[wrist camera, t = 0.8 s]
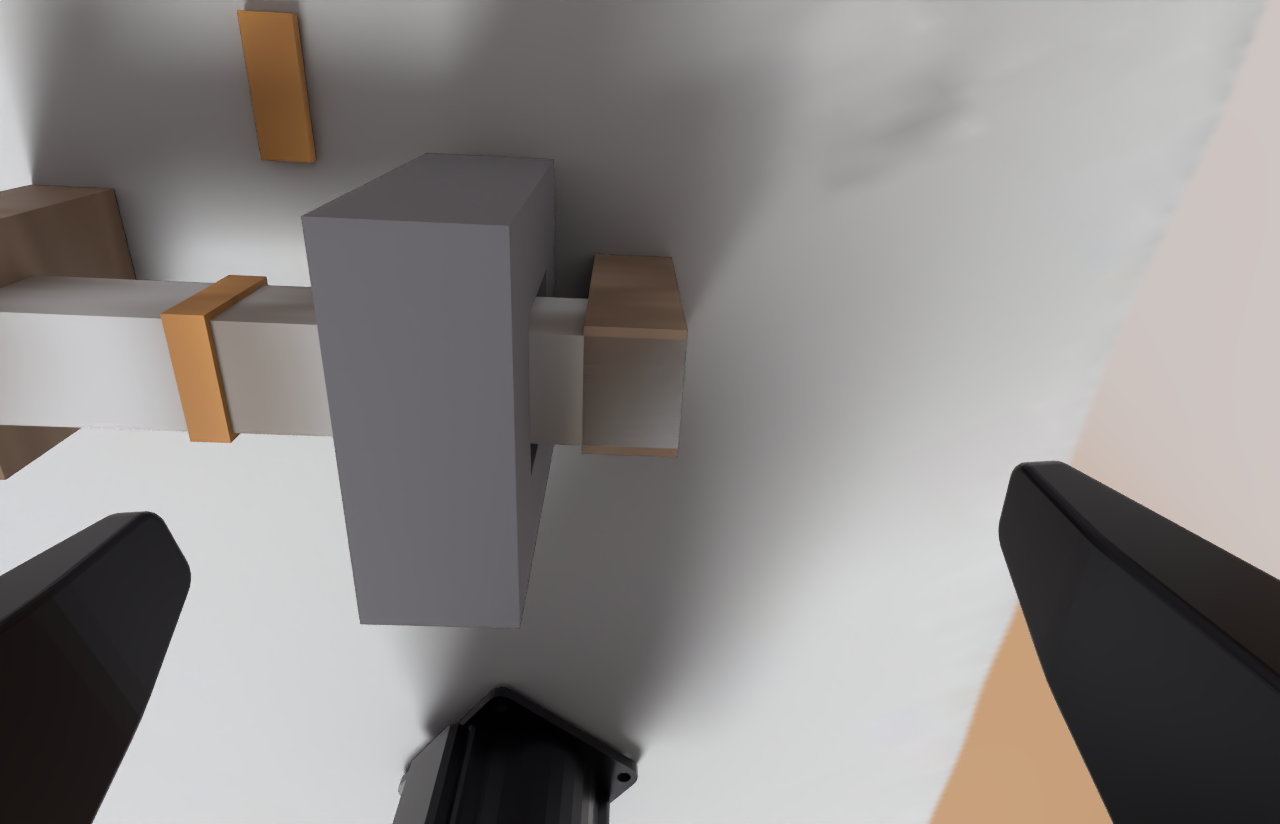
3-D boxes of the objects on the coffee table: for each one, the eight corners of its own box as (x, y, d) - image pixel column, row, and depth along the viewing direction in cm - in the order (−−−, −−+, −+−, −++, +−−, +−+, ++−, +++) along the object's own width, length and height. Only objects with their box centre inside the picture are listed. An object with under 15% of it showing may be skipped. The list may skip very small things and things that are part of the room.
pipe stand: (686, 35, 17) (712, 28, 12) (662, 393, 21) (674, 505, 16) (-25, -4, 17) (-325, -31, 11) (85, 371, 21) (-100, 479, 15)
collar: (554, 159, 18) (508, 225, 11) (554, 441, 21) (519, 627, 14) (426, 153, 18) (301, 216, 11) (447, 437, 21) (360, 623, 14)
